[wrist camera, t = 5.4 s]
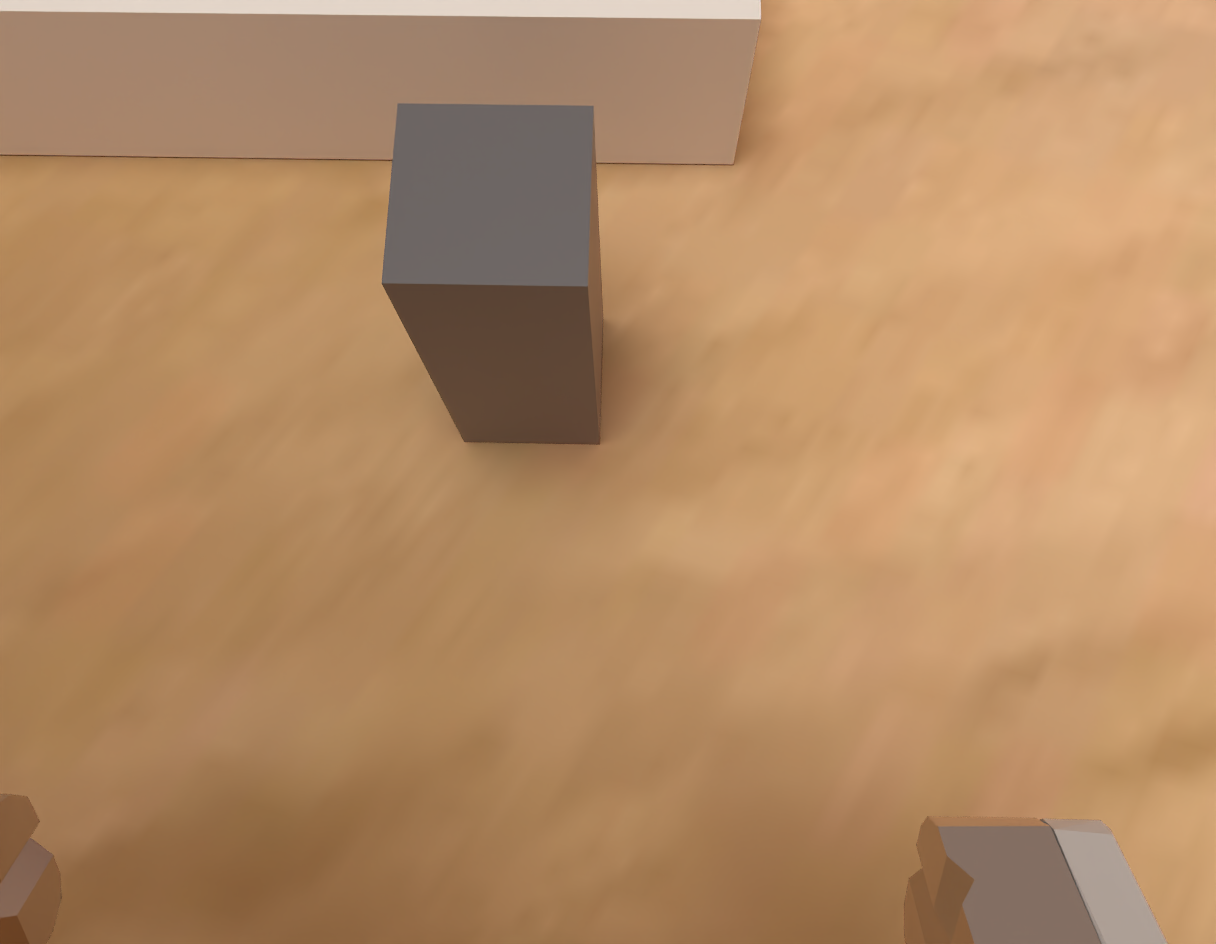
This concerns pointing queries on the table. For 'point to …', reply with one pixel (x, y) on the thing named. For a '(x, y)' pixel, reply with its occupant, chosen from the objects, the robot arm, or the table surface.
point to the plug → (500, 265)
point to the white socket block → (366, 73)
